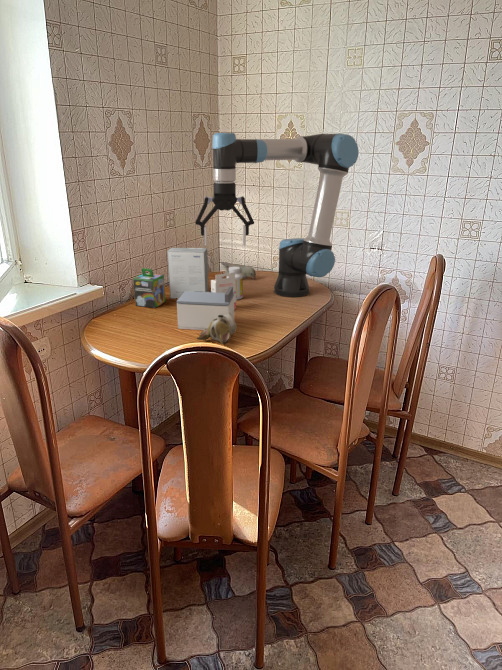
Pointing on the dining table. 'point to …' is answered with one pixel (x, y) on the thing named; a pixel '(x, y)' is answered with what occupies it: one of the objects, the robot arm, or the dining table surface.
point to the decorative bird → (244, 270)
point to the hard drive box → (187, 270)
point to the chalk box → (149, 289)
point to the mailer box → (200, 314)
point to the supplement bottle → (237, 281)
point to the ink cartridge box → (224, 284)
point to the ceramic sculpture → (220, 329)
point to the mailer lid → (207, 297)
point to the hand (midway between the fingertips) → (224, 244)
